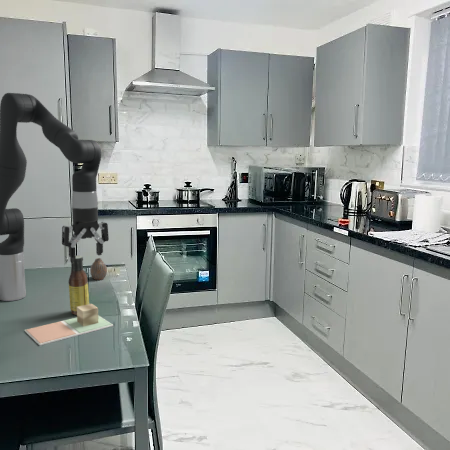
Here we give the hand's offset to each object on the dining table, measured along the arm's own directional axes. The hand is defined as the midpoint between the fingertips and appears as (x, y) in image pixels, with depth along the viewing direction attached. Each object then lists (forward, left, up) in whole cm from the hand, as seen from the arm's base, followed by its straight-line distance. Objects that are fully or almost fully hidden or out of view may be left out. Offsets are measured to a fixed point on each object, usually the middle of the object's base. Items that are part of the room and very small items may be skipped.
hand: (86, 256), depth 140 cm
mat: (0, -6, -22) cm, 23 cm away
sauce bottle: (-11, +2, -22) cm, 25 cm away
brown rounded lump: (-44, +25, -23) cm, 55 cm away
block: (0, 0, -22) cm, 22 cm away
